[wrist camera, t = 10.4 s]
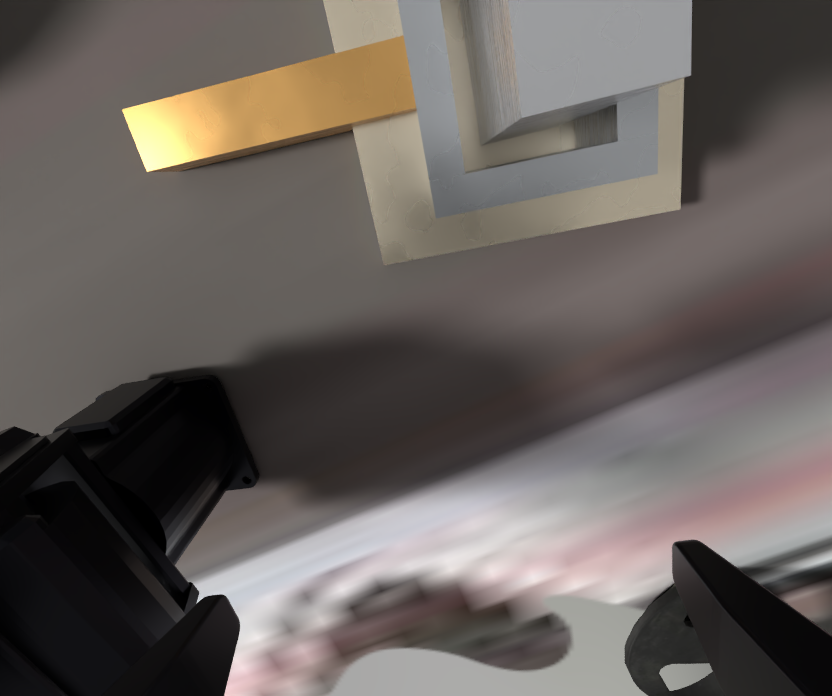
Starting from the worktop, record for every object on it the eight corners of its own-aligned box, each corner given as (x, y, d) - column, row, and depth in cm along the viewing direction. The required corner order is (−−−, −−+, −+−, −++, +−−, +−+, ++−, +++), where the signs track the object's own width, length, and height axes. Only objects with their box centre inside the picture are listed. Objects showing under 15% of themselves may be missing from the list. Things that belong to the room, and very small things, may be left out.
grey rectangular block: (553, 127, 15) (691, 74, 6) (481, 145, 15) (522, 117, 7) (536, -55, 13) (698, -458, 5) (454, -29, 13) (466, -361, 5)
